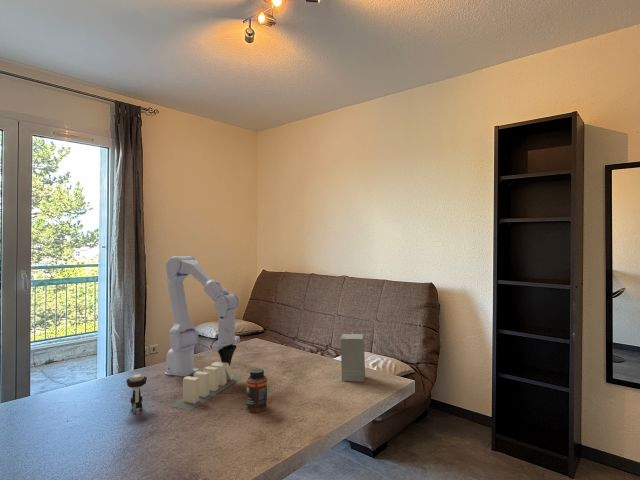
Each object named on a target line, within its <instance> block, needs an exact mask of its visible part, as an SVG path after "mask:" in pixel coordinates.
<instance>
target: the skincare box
mask: <svg viewBox="0 0 640 480" xmlns="http://www.w3.org/2000/svg"><path fill="white" fill-rule="evenodd" d="M340 358H341V359H340V360H341V362H340V364H341V382H353V383H357V382H358V383H359V382H360V383H364V382H365V378H366V360H365V358H366V357H365V335H364V334H363V333H361V334H360V333H355V334H354V333H343V334H341V337H340Z"/></svg>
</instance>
